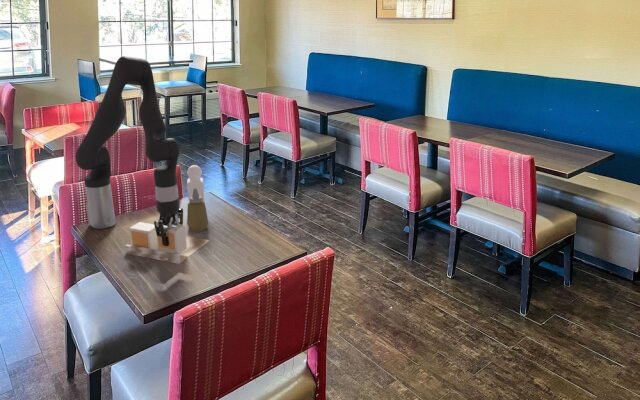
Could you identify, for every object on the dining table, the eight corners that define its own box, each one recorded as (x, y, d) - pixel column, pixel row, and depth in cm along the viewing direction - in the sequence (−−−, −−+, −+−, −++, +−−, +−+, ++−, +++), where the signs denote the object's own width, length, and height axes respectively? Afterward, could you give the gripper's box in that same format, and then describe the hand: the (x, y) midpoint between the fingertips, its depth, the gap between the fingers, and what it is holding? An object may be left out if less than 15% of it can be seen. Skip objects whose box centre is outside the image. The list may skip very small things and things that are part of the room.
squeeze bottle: (204, 236, 209) (200, 192, 203) (184, 234, 211) (180, 191, 204) (212, 228, 217) (209, 185, 210) (192, 226, 218) (189, 184, 212)
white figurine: (205, 217, 227) (202, 167, 219) (189, 218, 225) (185, 168, 217) (205, 211, 233) (202, 162, 225) (190, 212, 231) (186, 163, 223)
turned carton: (167, 244, 195) (165, 221, 192) (186, 248, 193) (184, 225, 189) (157, 251, 190) (155, 228, 187) (177, 255, 187) (175, 231, 184)
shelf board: (125, 257, 193) (124, 245, 191) (160, 234, 211) (159, 224, 209) (179, 268, 186) (178, 256, 184) (210, 243, 204) (209, 232, 202)
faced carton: (142, 244, 199) (139, 221, 196) (160, 248, 197) (158, 225, 193) (131, 251, 194) (128, 228, 191) (150, 255, 191) (147, 231, 188)
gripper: (170, 188, 192) (174, 232, 198) (144, 202, 179) (149, 248, 185) (188, 191, 189) (192, 235, 195) (163, 205, 177) (168, 252, 183)
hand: (171, 241), depth 190 cm, fingers closed on turned carton, 5 cm apart
